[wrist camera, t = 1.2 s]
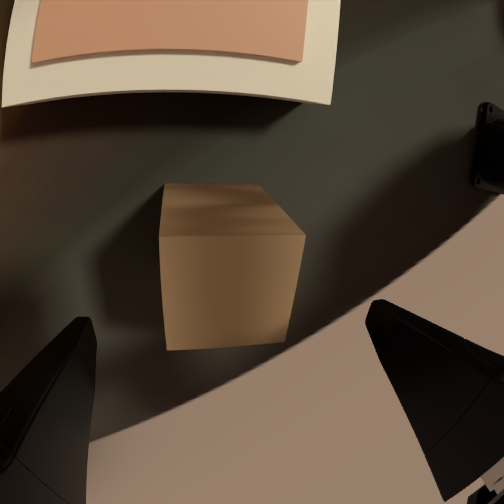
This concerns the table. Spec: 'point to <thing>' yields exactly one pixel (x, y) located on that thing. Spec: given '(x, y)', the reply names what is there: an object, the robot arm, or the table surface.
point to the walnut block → (226, 266)
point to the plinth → (171, 48)
